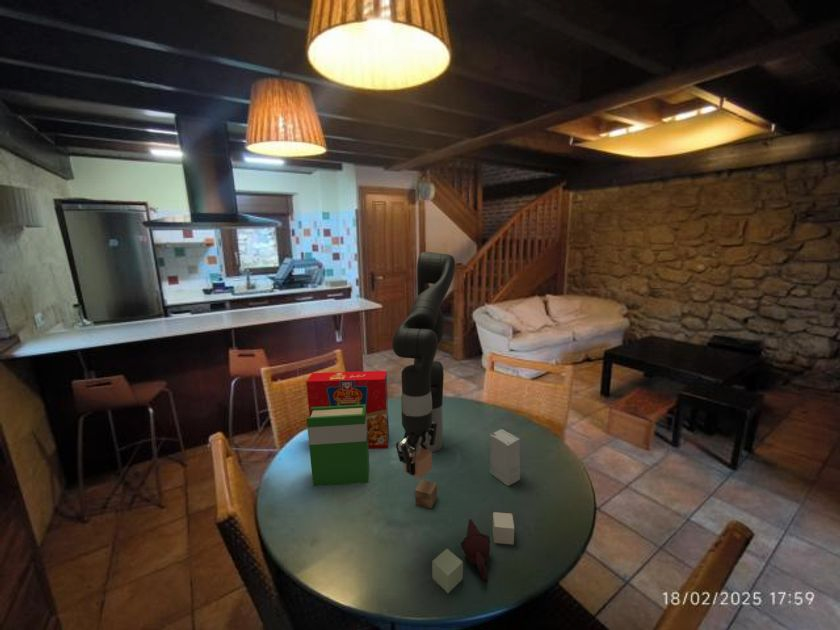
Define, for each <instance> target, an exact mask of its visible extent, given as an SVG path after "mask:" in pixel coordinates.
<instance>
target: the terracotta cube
mask: <svg viewBox="0 0 840 630" xmlns="http://www.w3.org/2000/svg"><path fill="white" fill-rule="evenodd" d="M411 448H412V449H415V448H413V447H411ZM432 453H433V452H431V451H429V450H426V449H424V448H422V447H420V446H419V451H418V454H416V458H415V475H414V476H413V477H414V478H416V479H418V480H422V479H423V478H424V477H425V475H427V474H428V473H429V472H430V471H432V469H433V457H432V455H433V454H432ZM409 456H410V457H411V456H412V454H411V453H410V454H409ZM403 467H404V468H403V469H404V470H403V471H404V473H406V474H408V473H407V472H406V464H405V463H403Z"/></svg>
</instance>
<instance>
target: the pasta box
mask: <svg viewBox="0 0 840 630" xmlns="http://www.w3.org/2000/svg"><path fill="white" fill-rule="evenodd" d="M305 382H306V392H307V404H308V413H309V414H308V415H309V417H311V407H326V406H343V405H360V404H366V414H367V432H368V449H369V450H379V449H382V450H384V449H386V450H387V449H389V441H390V427H389V422H390V421H389V406H388V405H389V401H388V399H389V398H388V380H387V370H367V371H365V370H364V371H363V370H361V371H335V372H333V371H332V372H331V371H330V372H311V374H310V375H309V377H308V378H307V380H306V381H305Z"/></svg>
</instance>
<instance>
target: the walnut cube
mask: <svg viewBox="0 0 840 630" xmlns="http://www.w3.org/2000/svg"><path fill="white" fill-rule="evenodd" d="M437 485H438V483H437V482H433V481H428V480H425V479H420V481H419V483H418V485H417V486H416V488H415V489H414V498H415V499H414V501H415V503H414V504H415V505H417V506H420V507H424V508H426V509H430V510H431V509H432V508H433V506H434V504H435V502H436V501H437V498H438V495H437V494H438V486H437Z"/></svg>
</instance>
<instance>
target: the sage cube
mask: <svg viewBox="0 0 840 630" xmlns="http://www.w3.org/2000/svg"><path fill="white" fill-rule="evenodd" d="M431 567H432V569H431V570H432V571H431V572H432V580H434V581H435V582H436V583H437V585H439V586H440V587H441V588H442V589H443V590H444V592H446V593H447V594H449V593H450V592H451V591H452V590H453V589H454V588H455V587H456V586H457V585H458V584H460V582H461V581H463V577H464V576H463V575H464V574H463V573H464V568H463V567H464V562H463V561H462V560H461V559H460V558H459V557H458V556H456V555H455V553H453V552H452V551H451V550H449V548H446V549H444V551H442V552H441V553H440V554H438V555H437V556H436V557H435V558H434V559H433V560H431Z"/></svg>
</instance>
